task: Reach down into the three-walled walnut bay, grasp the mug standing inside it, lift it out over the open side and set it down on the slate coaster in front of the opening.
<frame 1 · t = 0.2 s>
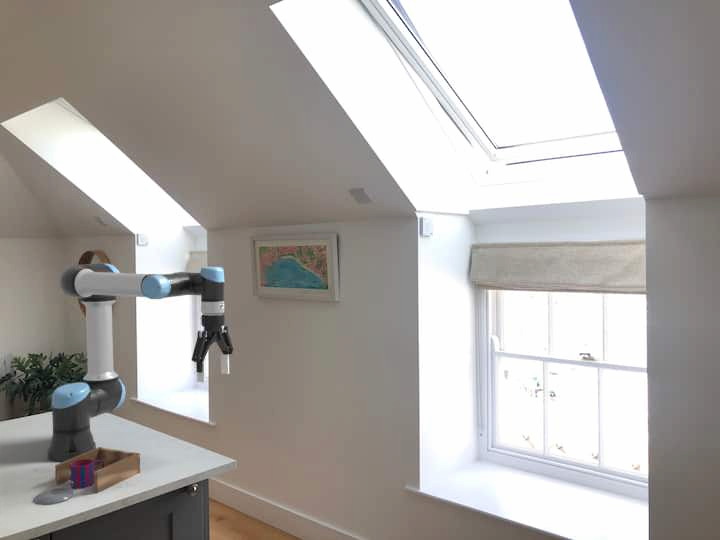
hand: (213, 377, 211), 28 cm above the counter, fingers open, 13 cm apart
mug: (88, 484, 193), on the counter
walnut bay: (98, 478, 197), on the counter
slate coaster: (54, 497, 183), on the counter
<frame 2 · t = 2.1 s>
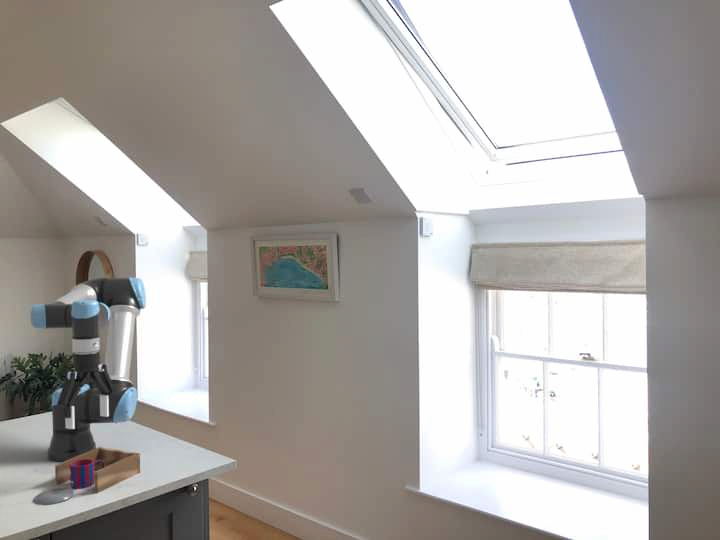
hand: (87, 422, 192), 19 cm above the counter, fingers open, 13 cm apart
nothing on the counter moved.
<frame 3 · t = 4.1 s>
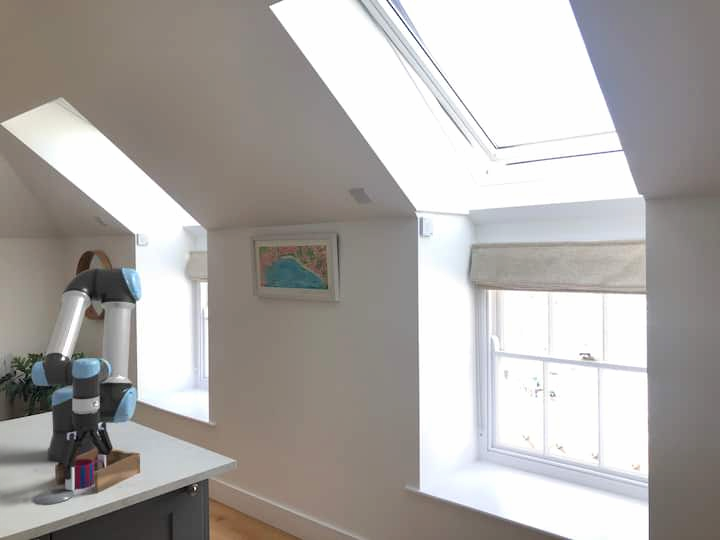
hand: (86, 482, 192), 1 cm above the counter, fingers open, 12 cm apart
nothing on the counter moved.
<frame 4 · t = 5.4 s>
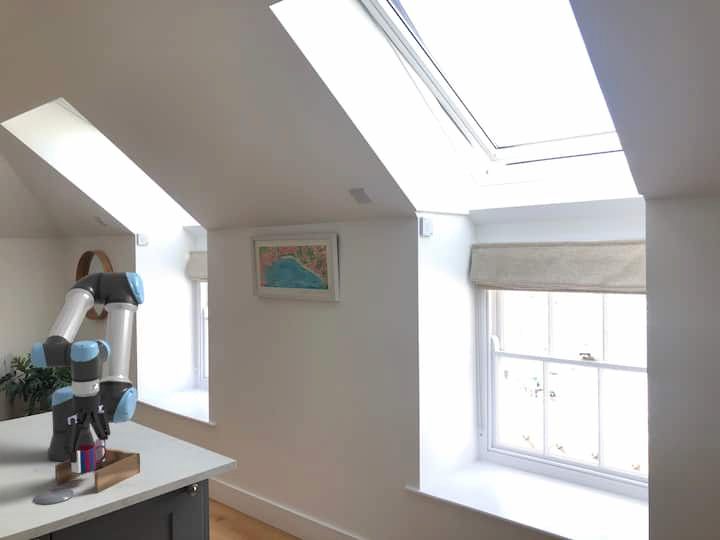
hand: (88, 466, 194), 5 cm above the counter, fingers closed on mug, 9 cm apart
mug: (89, 469, 194), point 4 cm above the counter, touching gripper
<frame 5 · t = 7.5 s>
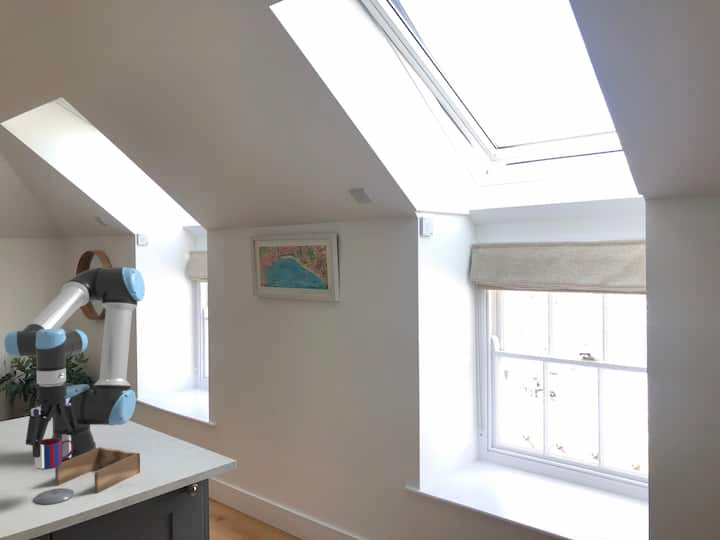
hand: (53, 462, 182), 10 cm above the counter, fingers closed on mug, 9 cm apart
mug: (55, 465, 182), point 9 cm above the counter, touching gripper
when the fingers open (1 cm above the counter, at t = 9.5 s): mug stays where it is, resting on slate coaster.
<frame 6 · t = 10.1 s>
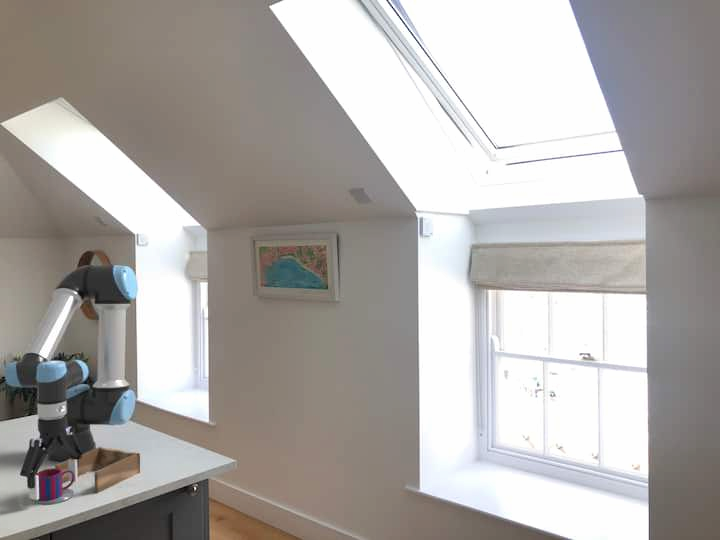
hand: (54, 489, 183), 2 cm above the counter, fingers open, 13 cm apart
mug: (55, 495, 183), resting on slate coaster
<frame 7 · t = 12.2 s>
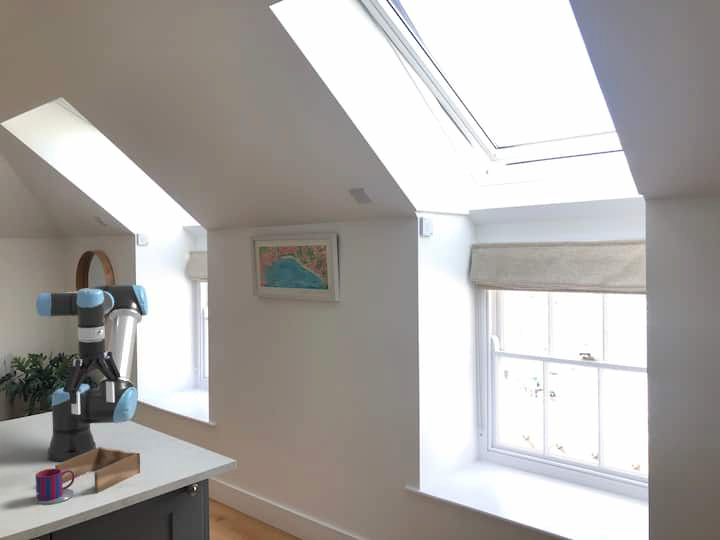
hand: (93, 407, 198), 22 cm above the counter, fingers open, 13 cm apart
nothing on the counter moved.
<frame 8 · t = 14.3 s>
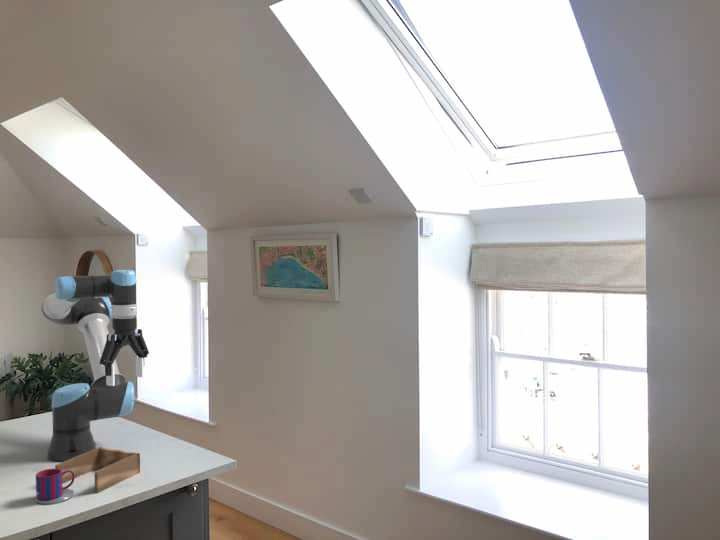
hand: (125, 381, 211), 27 cm above the counter, fingers open, 13 cm apart
nothing on the counter moved.
at the end: mug 0.4 cm from the slate coaster (horizontally); mug tilted 0°; mug resting on slate coaster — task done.
